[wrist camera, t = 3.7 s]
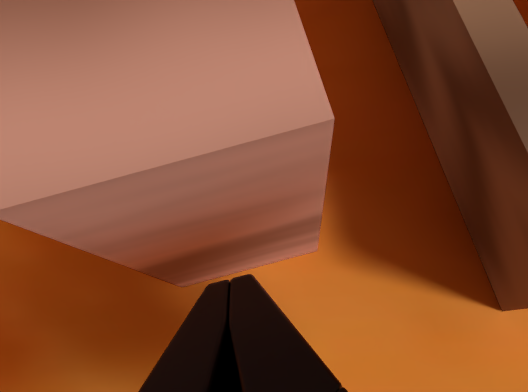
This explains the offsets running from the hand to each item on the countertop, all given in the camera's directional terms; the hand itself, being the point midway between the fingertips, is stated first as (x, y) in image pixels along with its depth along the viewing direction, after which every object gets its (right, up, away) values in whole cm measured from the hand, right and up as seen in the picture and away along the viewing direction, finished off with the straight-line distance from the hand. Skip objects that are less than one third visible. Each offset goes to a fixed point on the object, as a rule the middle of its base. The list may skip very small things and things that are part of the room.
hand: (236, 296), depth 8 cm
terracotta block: (-1, +2, +8) cm, 8 cm away
